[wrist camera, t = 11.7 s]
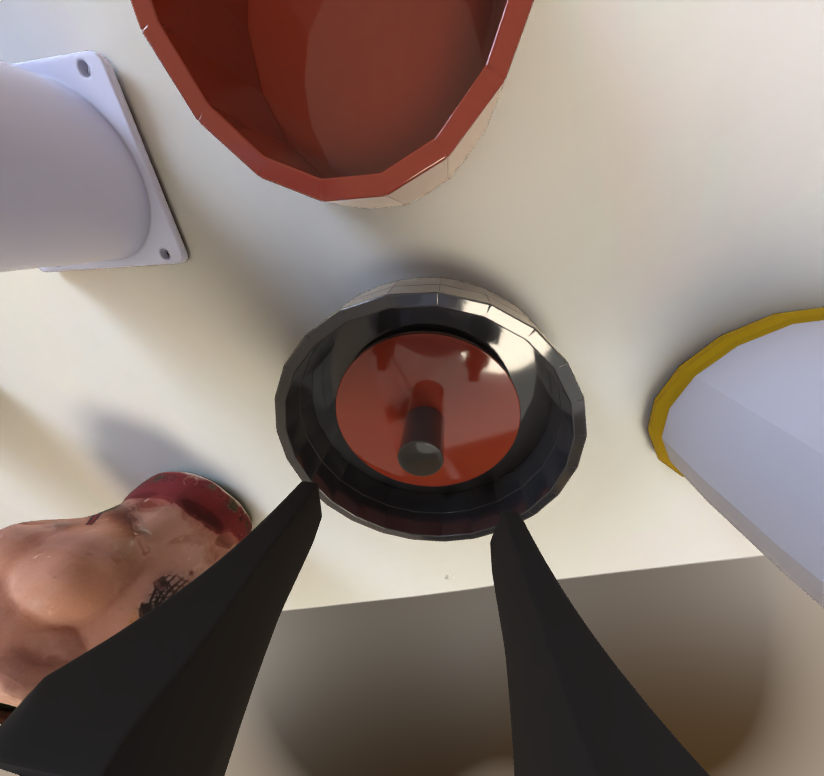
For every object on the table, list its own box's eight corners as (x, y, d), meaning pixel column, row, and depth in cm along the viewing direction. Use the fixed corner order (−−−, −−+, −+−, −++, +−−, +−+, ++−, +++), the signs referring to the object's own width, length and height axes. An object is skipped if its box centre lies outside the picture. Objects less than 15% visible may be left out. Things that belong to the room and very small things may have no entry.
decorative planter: (330, 560, 29) (249, 793, 17) (250, 581, 34) (139, 782, 21) (168, 415, 22) (-171, 647, 10) (90, 464, 26) (-219, 672, 14)
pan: (333, 488, 24) (313, 533, 21) (275, 284, 16) (228, 301, 13) (537, 497, 22) (554, 549, 18) (586, 268, 14) (631, 283, 11)
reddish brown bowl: (283, 216, 14) (204, 212, 10) (193, -158, 9) (-62, -537, 5) (498, 198, 13) (526, 183, 8) (529, -248, 8) (640, -902, 3)
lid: (342, 462, 22) (320, 513, 18) (338, 314, 16) (303, 342, 12) (492, 485, 21) (502, 543, 17) (542, 340, 16) (572, 378, 12)
